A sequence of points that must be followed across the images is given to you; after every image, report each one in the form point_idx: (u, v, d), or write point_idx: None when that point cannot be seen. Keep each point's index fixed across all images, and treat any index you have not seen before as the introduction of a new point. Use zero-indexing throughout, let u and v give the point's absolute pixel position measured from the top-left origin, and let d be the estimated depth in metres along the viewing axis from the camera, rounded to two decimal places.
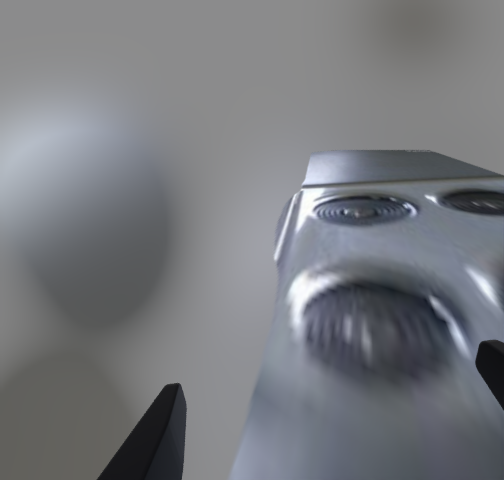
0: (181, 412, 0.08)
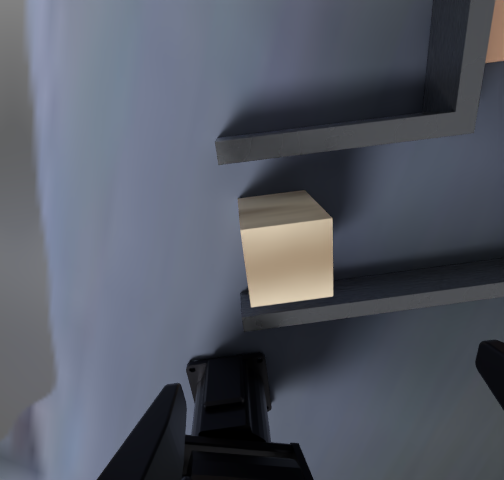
0: (181, 412, 0.08)
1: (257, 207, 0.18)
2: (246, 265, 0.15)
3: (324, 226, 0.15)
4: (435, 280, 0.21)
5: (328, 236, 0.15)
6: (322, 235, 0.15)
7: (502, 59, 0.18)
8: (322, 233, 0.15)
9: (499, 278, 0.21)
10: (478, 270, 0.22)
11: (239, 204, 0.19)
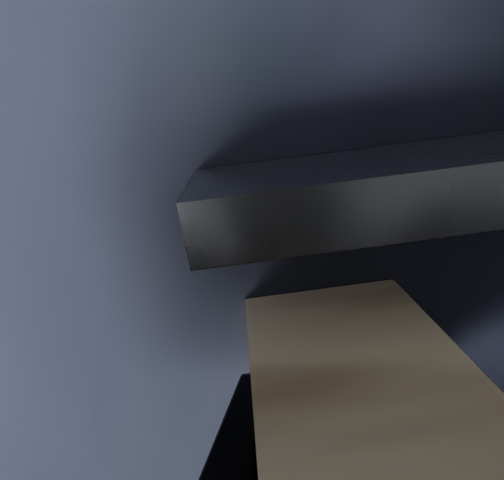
0: None
1: (300, 358, 0.07)
2: None
3: None
4: None
5: None
6: None
7: None
8: None
9: None
10: None
11: (250, 332, 0.08)
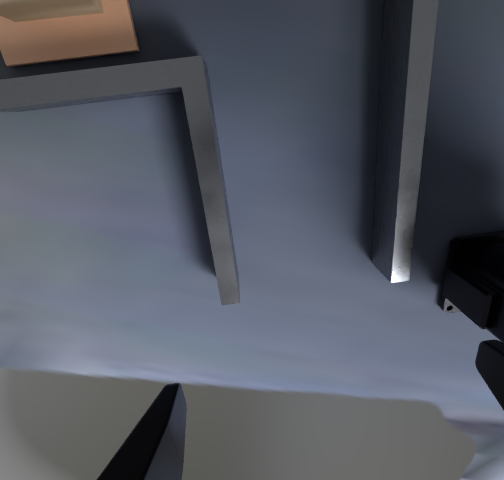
0: (181, 412, 0.08)
1: None
2: None
3: None
4: (397, 37, 0.16)
5: None
6: None
7: (125, 2, 0.15)
8: None
9: None
10: None
11: None
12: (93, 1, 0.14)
